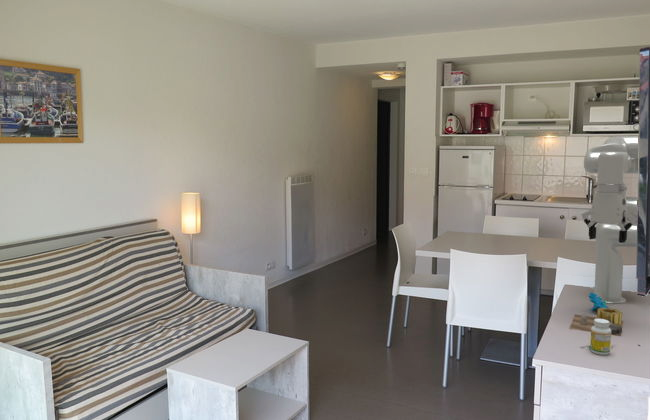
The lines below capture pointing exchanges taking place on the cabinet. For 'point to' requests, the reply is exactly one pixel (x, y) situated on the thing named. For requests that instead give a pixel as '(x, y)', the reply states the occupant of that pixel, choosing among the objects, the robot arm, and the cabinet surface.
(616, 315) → the brass gear
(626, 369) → the cabinet surface
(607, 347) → the supplement bottle
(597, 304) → the gear
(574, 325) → the gear board
